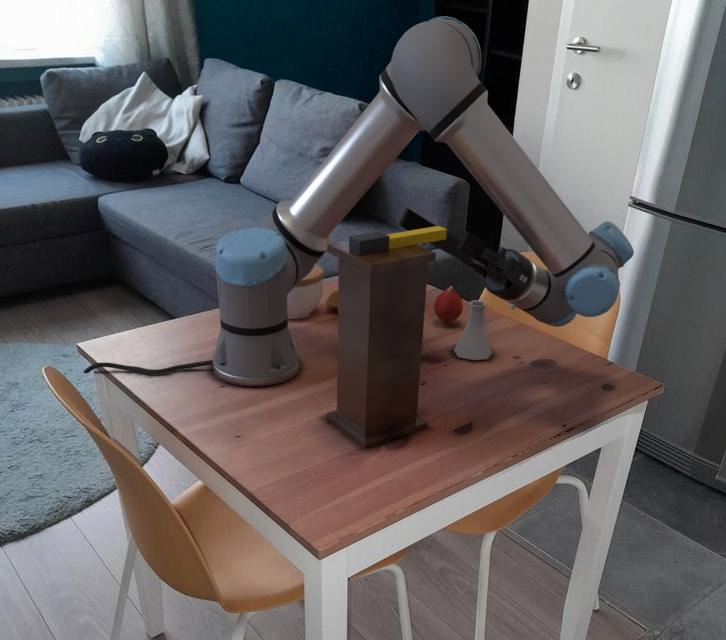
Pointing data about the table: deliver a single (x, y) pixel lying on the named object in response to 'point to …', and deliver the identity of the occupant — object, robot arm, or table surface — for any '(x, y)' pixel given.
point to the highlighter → (394, 240)
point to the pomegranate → (448, 306)
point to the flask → (474, 335)
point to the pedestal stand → (379, 341)
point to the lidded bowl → (305, 294)
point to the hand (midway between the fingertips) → (432, 228)
